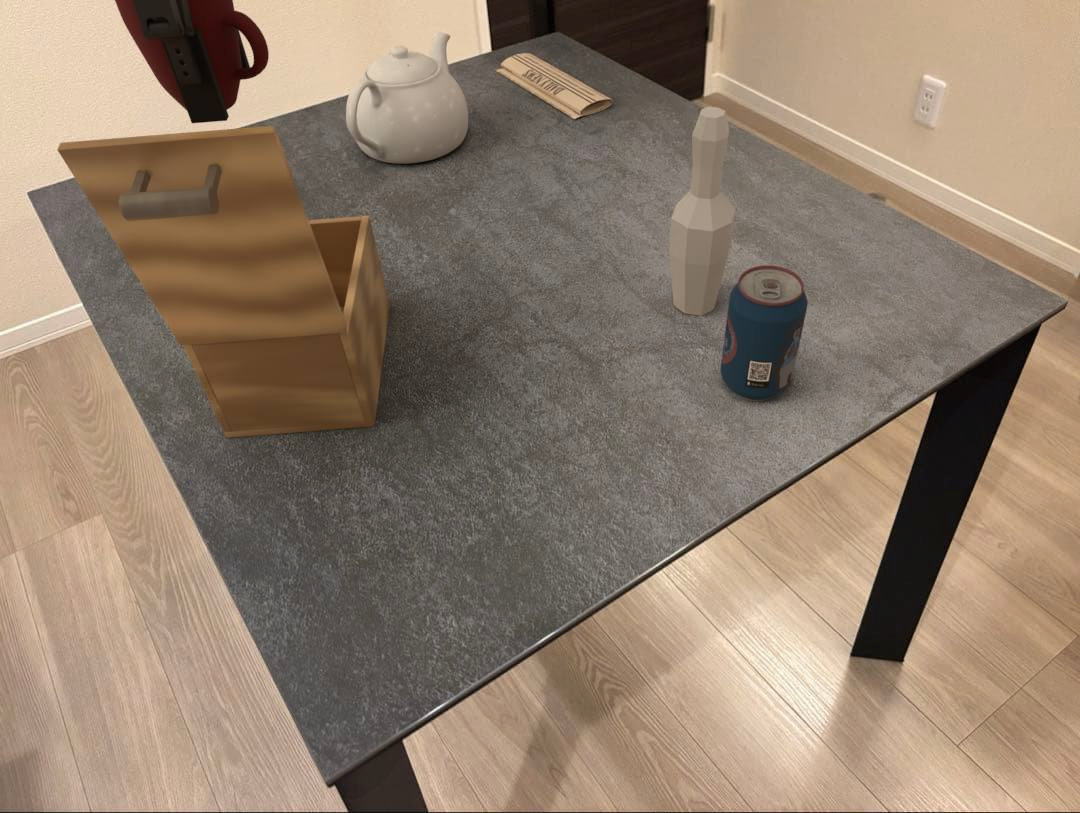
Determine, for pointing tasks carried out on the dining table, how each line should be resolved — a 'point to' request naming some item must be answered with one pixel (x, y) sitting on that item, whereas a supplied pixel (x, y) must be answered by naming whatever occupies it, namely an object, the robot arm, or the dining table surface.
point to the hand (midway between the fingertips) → (222, 95)
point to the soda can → (763, 332)
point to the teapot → (408, 106)
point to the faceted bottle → (702, 221)
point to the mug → (221, 41)
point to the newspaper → (553, 85)
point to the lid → (212, 232)
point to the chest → (308, 352)
